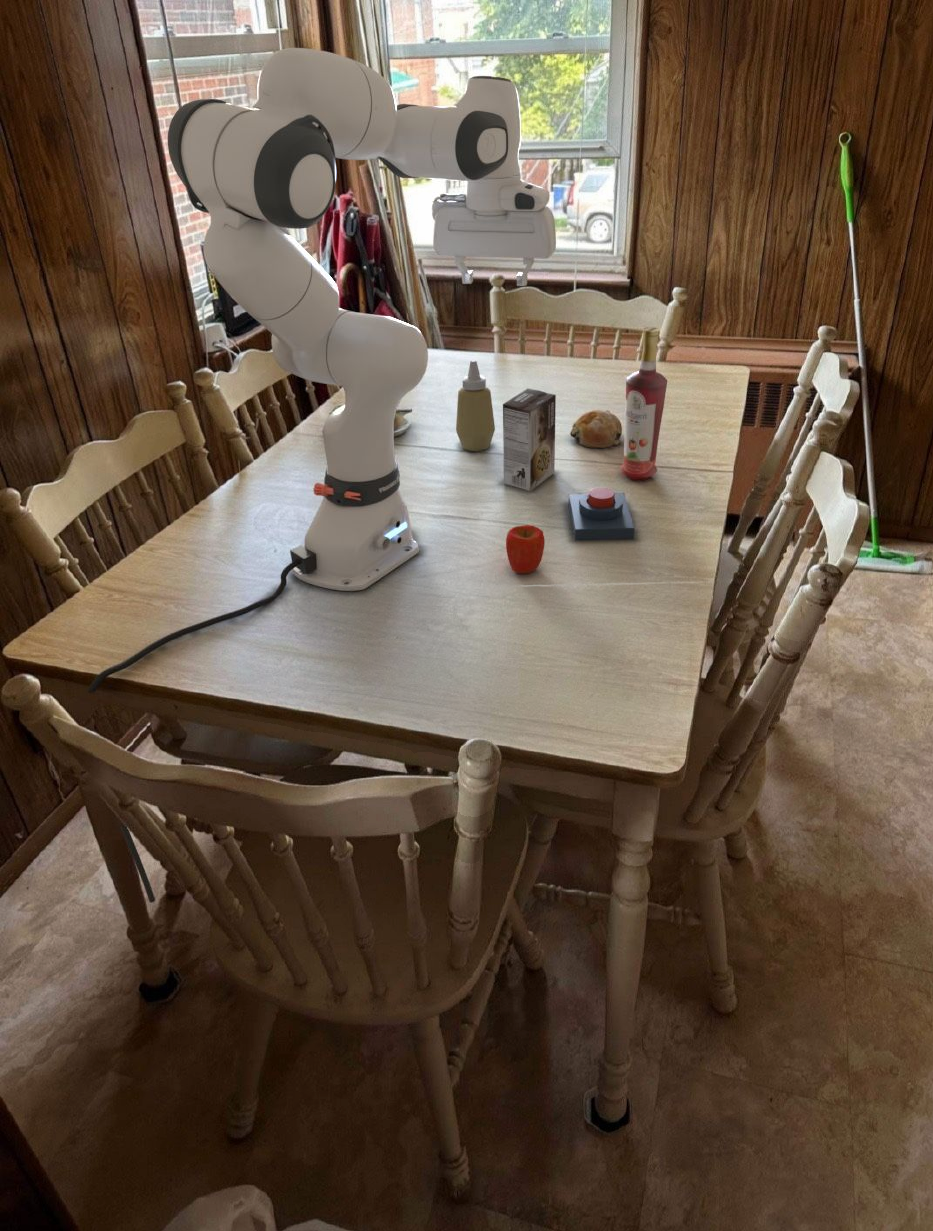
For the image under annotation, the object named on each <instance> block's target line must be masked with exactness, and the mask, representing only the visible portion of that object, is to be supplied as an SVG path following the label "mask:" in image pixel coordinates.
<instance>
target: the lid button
mask: <svg viewBox="0 0 933 1231" xmlns="http://www.w3.org/2000/svg"><path fill="white" fill-rule="evenodd" d="M588 493H589V498H588V504H589V505H590V506H592V507H596V508H608V507H611V506H613V505H614V493H615V491H614V490H613V489H611V488H609V487H604V486H599V487H597V486H596V487H593V488H591V489H590V490H589V491H588Z"/></svg>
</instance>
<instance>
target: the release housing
mask: <svg viewBox="0 0 933 1231" xmlns="http://www.w3.org/2000/svg"><path fill="white" fill-rule="evenodd" d="M588 498H589V492H588V493H568V510H569V515H570V520H571V521H570V522H571V526H572V533H573V538H574V541H608V540H609V541H615V540H634V538H635V529H636V528H635V525H634V521H633V518H632V514H631V511H630V508H629V505H628V501H627V498H626V494H625V492H614V505H613V506H611V507H608V508H596V507H592V506H590V505H589V504H588Z"/></svg>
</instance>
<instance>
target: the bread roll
mask: <svg viewBox="0 0 933 1231" xmlns="http://www.w3.org/2000/svg"><path fill="white" fill-rule="evenodd" d="M622 432H623V426H622V423H621V421H620V419H619V417H618V416H616V415H615V414H614V413H612V412H611V411H610V410H609V409H592V410H589V411H587V412H584V413H583V414H581V415H580V416H579V417H578V418H577V419H576V420H575V421H574V422H573V423H572V427H571V429H570V436H571V437H572V438H573V439H574V441H575V442H576V443H577V444H579V445H581V446H583V447H586V448H589V449H592V448H599V449H605V448H610V447H612V446H617V445H619V444H620V442H621V440H620V439H621V436H622V434H623V433H622Z"/></svg>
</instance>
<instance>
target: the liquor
mask: <svg viewBox="0 0 933 1231" xmlns="http://www.w3.org/2000/svg"><path fill="white" fill-rule="evenodd" d="M659 333H660V328H659V327H656V326H655V327H654V326H646V327H644V328H642V345H643V346H642V347H643V348H642V351H641V359H640V364H639V369H638V371H635V372H632V373H631V374H630V375H628V376H627V377H626V379H625V398H624V400H625V401H624V409H625V410H624V446H623V464H622V465H621V467H620V471H621V472H622V473H623V474H624V475H625V477H627V478H628V479H630V480H632V481H638V482H639V481H640V482H641V481H646V480H648V479H650V478H651V477H653V476H655V474H657V472H658V468H657V465H656V462H657V455H658V454H657V453H658V446H659V440H660V431H661V425H662V419H663V413H664V408H665V401H666V400H665V399H666V393H667V386H668V379H667V377H665V376H664V375H663V374H662V373H660V372H658V371H657V345H658V341H659Z"/></svg>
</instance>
